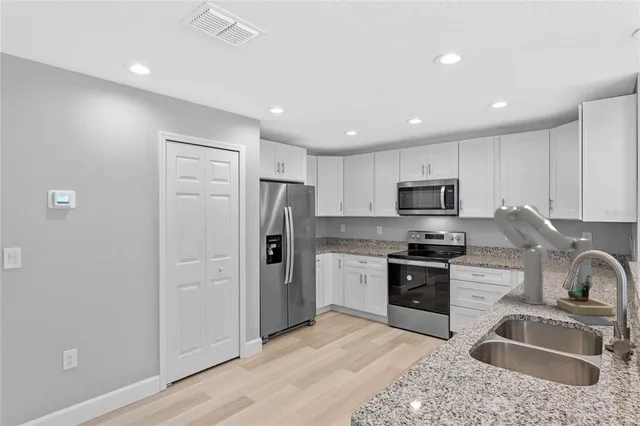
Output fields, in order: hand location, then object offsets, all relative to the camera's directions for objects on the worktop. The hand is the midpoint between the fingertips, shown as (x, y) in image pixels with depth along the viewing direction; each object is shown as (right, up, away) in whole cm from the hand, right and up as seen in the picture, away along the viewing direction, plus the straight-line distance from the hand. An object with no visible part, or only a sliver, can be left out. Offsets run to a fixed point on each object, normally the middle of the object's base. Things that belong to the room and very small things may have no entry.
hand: (581, 295), depth 187 cm
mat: (-9, -8, -19) cm, 22 cm away
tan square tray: (+1, -8, -1) cm, 8 cm away
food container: (0, -3, -1) cm, 3 cm away
